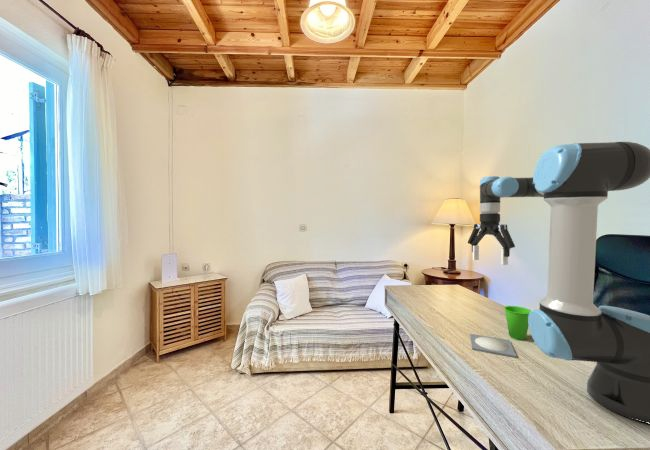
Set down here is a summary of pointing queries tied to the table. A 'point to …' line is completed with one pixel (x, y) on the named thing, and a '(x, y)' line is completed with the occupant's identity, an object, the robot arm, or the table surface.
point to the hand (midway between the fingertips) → (489, 262)
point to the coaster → (492, 345)
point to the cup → (517, 321)
